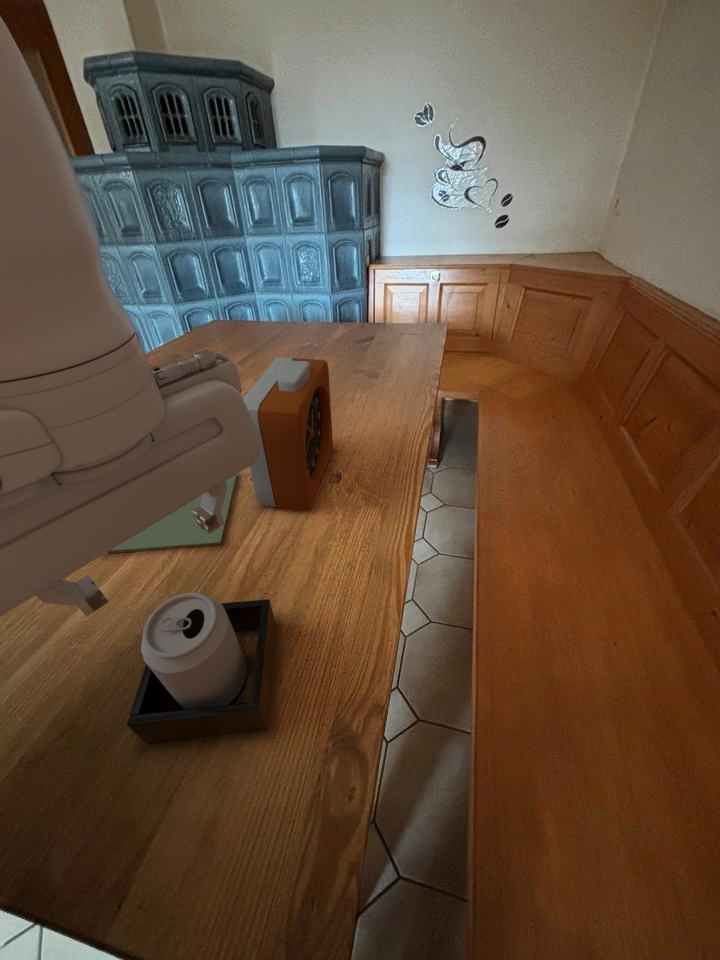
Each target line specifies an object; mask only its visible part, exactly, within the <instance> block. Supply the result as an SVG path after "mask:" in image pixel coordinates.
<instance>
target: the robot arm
mask: <svg viewBox="0 0 720 960" xmlns="http://www.w3.org/2000/svg"><path fill="white" fill-rule="evenodd" d="M99 235H100V234H99V231H98V228H97V225H96V222H95V219H94V216H93V213H92V211H91V208H90V205H89V203H88V200H87V198H86V195H85V193H84V191H83V188H82V186H81V182H80V180H79V179H78V176H77V173H76V170H75V168H74V166H73V163H72V160H71V158H70V156H69V154H68V152H67V149H66V147H65V144H64V142H63V139H62V137H61V135H60V132H59V131H58V127H57V126H56V123H55V122H54V119H53V116H52V115H51V113H50V110H49V108H48V106H47V104H46V102H45V100H44V98H43V95H42V93H41V91H40V89H39V87H38V84H37V82H36V81H35V78H34V76H33V74H32V72H31V71H30V68H29V66H28V64H27V62H26V60H25V58H24V56H23V54H22V52H21V50H20V49H19V46H18V45H17V43H16V40H15V39H14V38H13V36H12V33H11V32H10V29H9V28H8V26H7V25H6V23H5V21H4V19H3V18H2V17H1V15H0V617H2V616H3V615H5V614H7V613H9V612H10V611H12V610H14V609H15V608H17V607H19V606H20V605H22V604H24V603H26V602H27V601H29V600H30V599H32V598H34V597H35V596H36V597H37V598H38V599H39V600H40V601H41V602H42V603H44V604H52V605H53V604H55V605H63V606H77V607H78V609H79V610H80V611H81V612H82V614H84V615H85V617H89V616H91V615H92V614H94V613H95V612H96V611H98V610H99V609H101V608H103V607H104V606H105V605H107V604H108V603H109V600H108V598H107V597H106V596H105V594H104V593H103V592H102V591H101V590H100V588H99V587H98V586H97V584H96V583H95V582H94V580H92V578H91V577H90V576H89V575H86V576H85V577H83V578H81V579H80V580H78V581H76V582H74V581H70V580H66V578H67V577H68V576H70V575H72V574H73V573H75V572H78V571H79V570H80V569H82V568H83V567H86V566H87V565H88V564H90V563H92V562H93V561H95V560H97V559H98V558H100V557H102V556H104V555H105V554H108V553H107V552H108V551H110V550H112V549H113V548H115V547H117V546H118V545H120V544H122V543H123V542H125V541H126V540H128V539H130V538H131V537H133V536H135V535H136V534H138V533H140V532H141V531H143V530H145V529H146V528H148V527H150V526H151V525H153V524H155V523H156V522H158V521H160V520H161V519H163V518H165V517H166V516H168V515H170V514H171V513H173V512H175V511H176V510H178V509H180V508H181V507H183V506H185V505H186V504H188V503H190V502H191V501H193V500H195V499H196V498H198V497H200V496H201V495H202V498H201V504H200V505H201V506H199V507H197V508H196V509H194V510H193V511H192V512H193V515H194V517H195V518H196V522H197V524H198V525H199V527H200V528H201V529H203V530H205V532H206V533H208V534H209V533H211V532H213V531H214V530H216V529H217V528H219V527H220V526H222V525H223V524H224V521H223V518H222V515H221V512H220V510H221V509H222V505H223V502H224V499H225V495H226V492H227V486H226V483H225V481H226V480H228V479H229V478H231V477H233V476H234V475H236V474H237V475H238V474H240V473H241V472H242V471H244V470H246V469H249V466H251V465H253V464H254V463H255V462H256V460H257V457H258V454H259V451H260V443H259V439H258V436H257V433H256V430H255V427H254V424H253V421H252V418H251V416H250V414H249V411H248V409H247V407H246V404H245V402H244V400H243V398H244V397H243V396H242V391H243V389H242V388H243V387H242V383H241V377H240V374H239V373H240V372H239V369H238V367H237V365H236V364H235V362H234V361H233V360H232V359H231V357H229V356H227V355H226V354H224V353H218V352H214V351H213V350H212V349H205V350H200V351H196V352H195V353H193V354H191V355H190V356H188V357H184V358H182V359H178V360H177V359H176V360H173V361H168V362H166V363H163V364H159V365H157V366H153V367H151V365H150V363H149V359H148V357H147V355H146V352H145V350H144V347H143V343H142V341H141V339H140V336H139V334H138V332H137V330H136V325H135V323H134V321H133V319H132V317H131V316H130V313H129V312H128V311H127V309H126V308H125V307H124V305H123V304H122V303H121V301H120V300H119V298H118V297H117V296H116V294H115V292H114V290H113V288H112V287H111V284H110V282H109V280H108V277H107V274H106V270H105V268H104V264H103V258H102V253H101V244H100V243H101V241H100V237H99Z"/></svg>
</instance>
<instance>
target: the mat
mask: <svg viewBox="0 0 720 960" xmlns="http://www.w3.org/2000/svg"><path fill="white" fill-rule="evenodd" d="M237 479H238V474H236V475H234V476H233V477H231V478H229V479H228V480H226V481H225V483H226V486H227V492H226V495H225V499H224V502H223V505H222V509H221V510H220V512H221V515H222V518H223V521H224V524H223V525H222V526H220V527H219V528H217V529H216V530H214V531H213V532H211V533H209V534H208V533H206V532H205V530H203V529H201V528H200V527H199V525H198V524H197V522H196V518H195V517H194V515H193V512H192V511H193V510H194V509H196V508H197V507H199V506H201V505H200V504H201V498H202V495H201V496H200V497H198V498H196V499H195V500H193V501H191V502H190V503H188V504H186V505H185V506H183V507H181V508H180V509H178V510H176V511H175V512H173V513H171V514H170V515H168V516H166V517H165V518H163V519H161V520H160V521H158V522H156V523H155V524H153V525H151V526H150V527H148V528H146V529H145V530H143V531H141V532H140V533H138V534H136V535H135V536H133V537H131V538H130V539H128V540H126V541H125V542H123V543H122V544H120V545H118V546H117V547H115V548H113V549H112V550H110V551H108V552H107V553H106V554H118V553H130V552H131V553H132V552H145V551H156V550H158V551H159V550H169V549H182V548H183V549H185V548H195V547H196V548H197V547H210V546H220V545H221V546H222V544H223V539H224V536H225V531H226V527H227V523H228V517H229V514H230V510H231V505H232V502H233V501H232V500H233V497H234V493H235V489H236V484H237Z"/></svg>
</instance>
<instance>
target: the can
mask: <svg viewBox="0 0 720 960" xmlns="http://www.w3.org/2000/svg"><path fill="white" fill-rule="evenodd" d="M220 603H221V602H220V601H218V600H217V599H215V598H213V597H210V596H208V595H206V594H203V593H201V592H200V593H199V592H184V593H181V594H178V595H174V596H172V597H170V598H169V599H167V600H165V601H164V602H162V603H161V604H160V605H158V606H157V607H156V608H155V609H154V610H153V612H151V614H150V615H149V616H148V618H147V619H146V622H145V624H144V626H143V630H142V637H141V646H140V652H141V655H142V658H143V661H144V662H145V665H146V664H147V665H148V666H149V667H150V669H151V670H152V671H153V672H154V674H155V675H156V676H157V678H158V679H159V680H160V681H161V683H162V684H163V685H164V686H165V688H166V689H167V690H168V694H170V695H171V697H172V698H173V699H174V700H175V702H176V703H177V704H178V705H179V707H181V708H182V710H188V709H197V708H206V707H216V706H225V705H230V704H231V703H232V701H234V699H235V698H236V697H237V696H238V695H239V694H240V692H241V690H242V688H243V686H244V684H245V683H246V678H247V674H248V663H247V658H246V656H245V654H244V651H243V649H242V646H241V644H240V641H239V640H238V639H239V638H238V636H237V634H236V632H234V630H233V627H232V625H231V622H230V620H229V618H228V615H227V613H226V611H225V609H224V607H223V605H222V604H220Z"/></svg>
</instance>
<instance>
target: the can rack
mask: <svg viewBox="0 0 720 960" xmlns="http://www.w3.org/2000/svg"><path fill="white" fill-rule="evenodd" d="M219 603H220V604H222V605H223V607H224V609H225V611H226V613H227V615H228V618H229V620H230V622H231V625H232V627H233V630H234V632H235V633H236V632H247V631H257V630H258V636H257V645H256V654H255V664H254V671H253V682H252V691H251V699H250V702H244V703H236V704H235V703H234V704H228V705H225V706H216V707H206V708H197V709H188V710H184V709H179V710H170V711H164V709H165V706H166V702H167V698H168V694H169V691H168V690H167V689H166V688H165V686H164V685H163V684H162V683H161V681H160V680H159V679H158V678H157V676H156V675H155V674H154V672H153V671H152V670H151V669H150V667H149V666H148V665H147V664H146V663H145V666H144V669H143V672H142V675H141V678H140V681H139V684H138V687H137V690H136V694H135V697H134V699H133V703H132V705H131V708H130V709H131V710H130V711H129V716H128V718H127V722H126V726H127V727H128V728H129V729H130V730H131V731H132V732H134V734H135V735H137V736H138V737H139V738H140V739H141V740H142V741H143V742H145V743H146V744H153V743H162V742H170V741H180V740H189V739H197V738H205V737H207V738H208V737H214V736H215V737H216V736H224V735H233V734H241V733H242V734H243V733H250V732H259V731H260V732H261V731H267V730H268V729H269V715H270V703H271V702H270V701H271V690H272V675H273V664H274V650H275V636H276V625H277V624H276V619H275V615H274V612H273V607H272V604H271V600H270V598H267V599H266V598H265V599H257V600H256V599H255V600H245V601H233V602H219Z"/></svg>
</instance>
